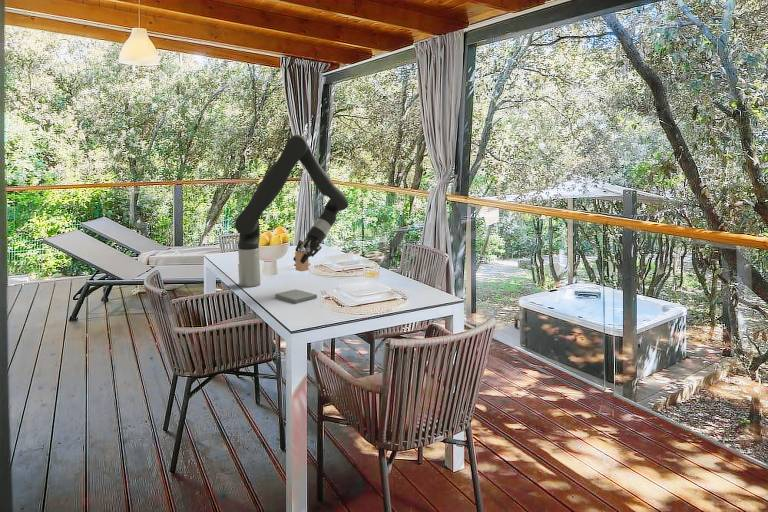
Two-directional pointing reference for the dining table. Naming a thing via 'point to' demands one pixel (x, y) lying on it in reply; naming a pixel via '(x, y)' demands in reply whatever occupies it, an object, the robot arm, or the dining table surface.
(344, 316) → the dining table surface
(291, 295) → the slate tile
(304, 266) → the terracotta block
